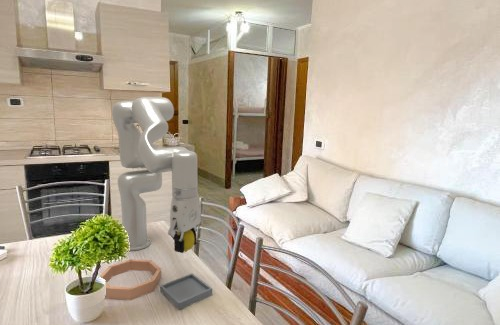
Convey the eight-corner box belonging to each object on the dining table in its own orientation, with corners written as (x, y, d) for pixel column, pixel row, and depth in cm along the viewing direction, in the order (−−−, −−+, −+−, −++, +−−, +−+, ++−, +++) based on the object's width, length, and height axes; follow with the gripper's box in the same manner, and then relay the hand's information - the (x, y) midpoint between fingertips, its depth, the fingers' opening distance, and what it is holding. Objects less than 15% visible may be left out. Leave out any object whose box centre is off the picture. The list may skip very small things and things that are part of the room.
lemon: (190, 256, 99) (190, 231, 97) (173, 254, 100) (173, 230, 98) (197, 248, 104) (197, 225, 103) (181, 246, 105) (180, 223, 104)
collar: (93, 280, 110) (92, 271, 110) (145, 263, 123) (144, 254, 122) (113, 306, 97) (112, 296, 96) (169, 284, 109) (169, 275, 109)
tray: (160, 291, 105) (160, 285, 105) (192, 278, 113) (192, 273, 113) (179, 310, 97) (179, 303, 96) (212, 294, 104) (212, 288, 104)
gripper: (176, 201, 89) (177, 262, 93) (210, 187, 104) (210, 239, 108) (155, 197, 92) (157, 256, 96) (191, 183, 107) (192, 235, 111)
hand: (185, 247), depth 102 cm, fingers closed on lemon, 5 cm apart
